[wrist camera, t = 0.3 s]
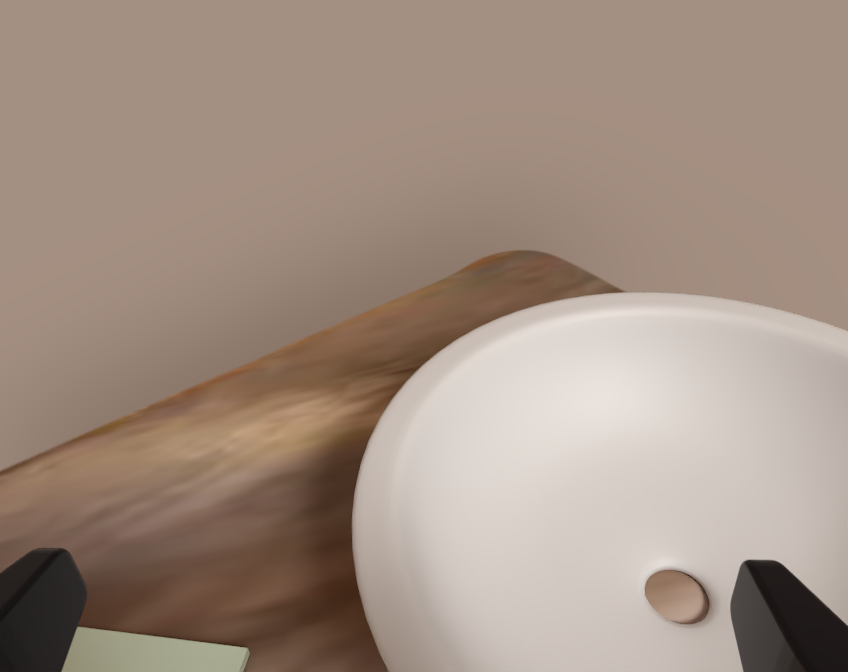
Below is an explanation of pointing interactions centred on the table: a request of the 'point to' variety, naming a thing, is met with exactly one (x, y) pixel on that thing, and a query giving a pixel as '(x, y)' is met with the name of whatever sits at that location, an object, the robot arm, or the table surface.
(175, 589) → the table surface
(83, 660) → the mat
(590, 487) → the soup bowl
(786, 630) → the robot arm
